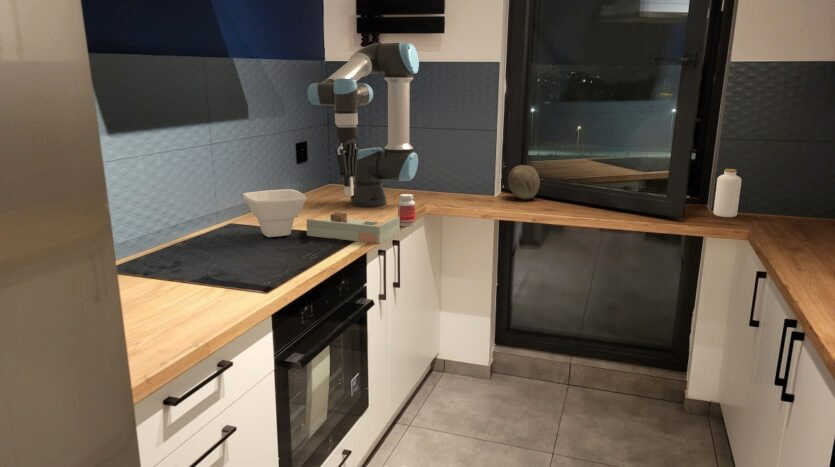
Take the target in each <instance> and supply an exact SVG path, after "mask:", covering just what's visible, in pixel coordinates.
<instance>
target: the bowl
mask: <svg viewBox="0 0 835 467" xmlns="http://www.w3.org/2000/svg"><path fill="white" fill-rule="evenodd" d="M242 198H243V199H244V201H245V203H246V204H247V206H248V208H249V210H250V211H251V213H252V215H253V216H254V217H255V218H256V219H257V221H258V223H259V227H260V230H261V232H262V233H261V234H263V235H264V236H265V237H267V238H274V237H283V236H285V237H286V236H289V235H291V233H292V228H293V225H294V220H295V218H297V217H298V216H299V214H300V213H301V211H302V209H303V207H304V205H305V202H306V201H307V195H306V194H304V193H302V192H300V191H299V190H296V189H292V188H291V189H290V188H287V189H286V188H285V189H284V188H282V189H268V190H267V189H266V190H260V191H259V190H258V191H250V192H249V191H248V192H243V194H242Z"/></svg>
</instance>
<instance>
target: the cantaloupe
mask: <svg viewBox="0 0 835 467" xmlns="http://www.w3.org/2000/svg"><path fill="white" fill-rule="evenodd" d="M540 184H541V180H540V176H539V173H538V171H537V170H536V168H534V166H532V165H523V164H520V165H516V166H515V167H513V168H512V169H511V171H510V172H509V174H508V179H507V186H508V188H509V191H511V193H512V194H513V195H514V196H515V197H517V198H519V199H520V200H523V201H529V200H530V199H532V198H534V197H535V196H536V195H537V193H538V191H539V189H540Z"/></svg>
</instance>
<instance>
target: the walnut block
mask: <svg viewBox="0 0 835 467" xmlns="http://www.w3.org/2000/svg"><path fill="white" fill-rule="evenodd" d="M330 217H331V221H333V222H343V223H347V219H348V213H346V212H334V213H330Z"/></svg>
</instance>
